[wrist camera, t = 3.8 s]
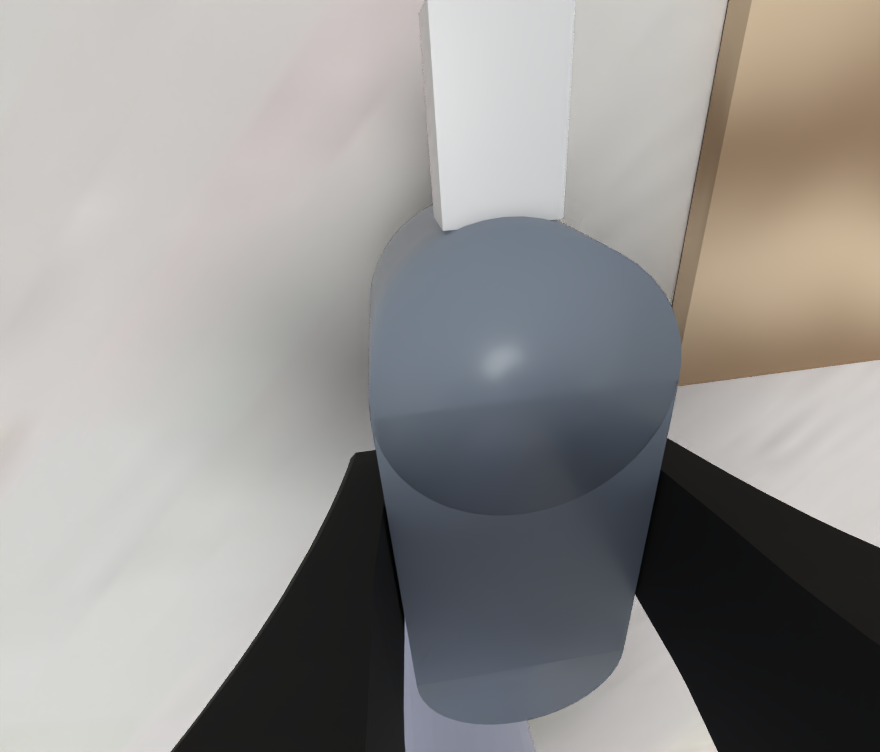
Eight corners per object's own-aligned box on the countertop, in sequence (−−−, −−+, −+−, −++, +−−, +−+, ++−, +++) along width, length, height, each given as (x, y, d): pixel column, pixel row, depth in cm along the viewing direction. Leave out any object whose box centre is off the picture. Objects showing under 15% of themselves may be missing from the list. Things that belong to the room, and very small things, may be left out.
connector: (555, 568, 13) (611, 704, 10) (412, 590, 13) (425, 738, 10) (596, 18, 7) (769, -61, 4) (327, 36, 7) (291, -36, 4)
